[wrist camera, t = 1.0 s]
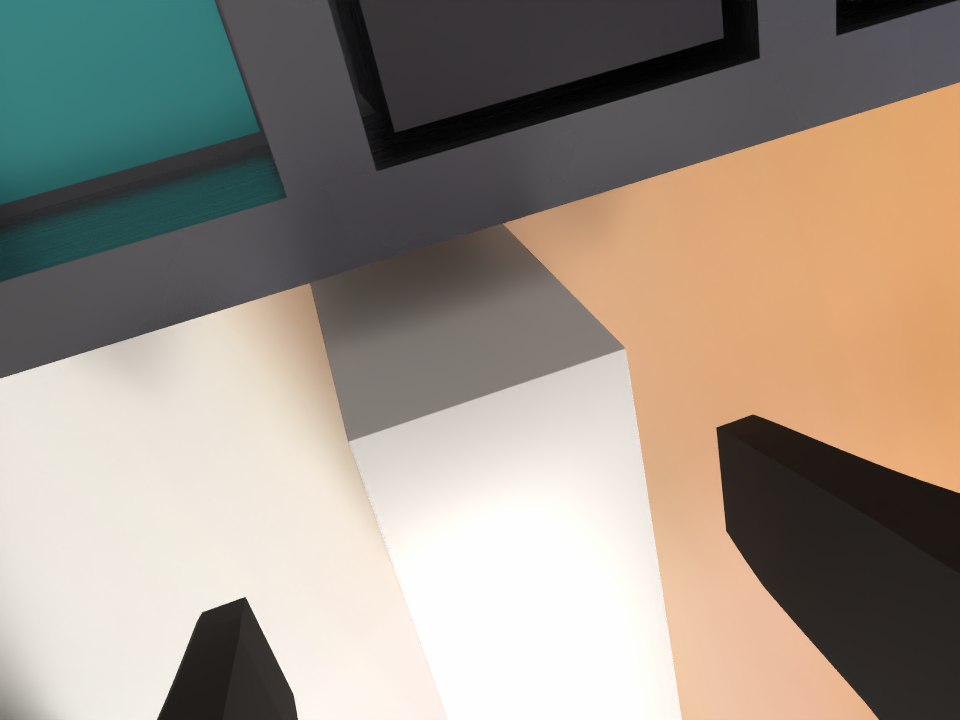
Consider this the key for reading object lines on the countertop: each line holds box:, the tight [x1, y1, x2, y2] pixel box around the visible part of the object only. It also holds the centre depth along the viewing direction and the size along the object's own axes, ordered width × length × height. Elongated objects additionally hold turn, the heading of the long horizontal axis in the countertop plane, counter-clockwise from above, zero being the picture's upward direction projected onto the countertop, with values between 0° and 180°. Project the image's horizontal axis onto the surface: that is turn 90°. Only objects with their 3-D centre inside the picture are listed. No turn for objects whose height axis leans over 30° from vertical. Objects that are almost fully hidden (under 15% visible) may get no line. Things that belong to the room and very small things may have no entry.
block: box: [310, 224, 682, 720], centre depth 13 cm, size 3×8×6 cm, turn 12°
